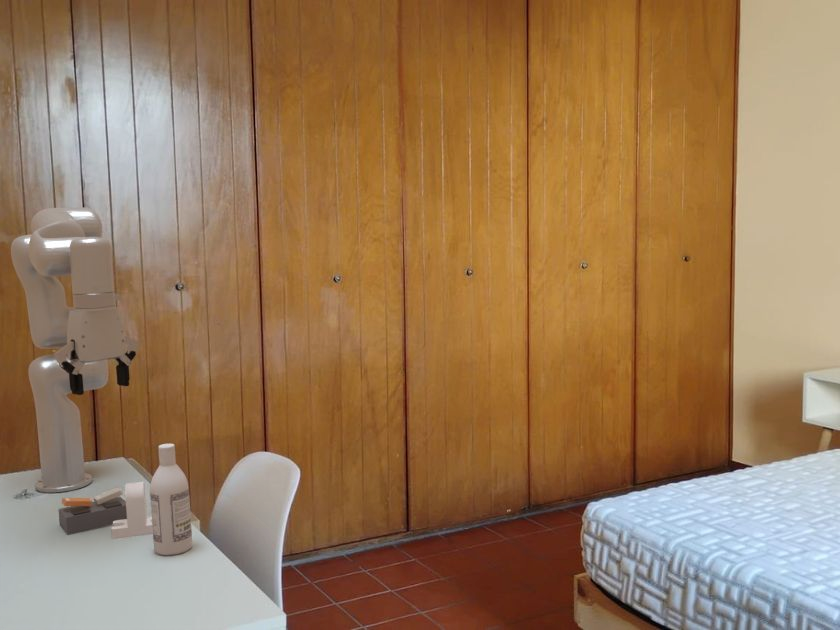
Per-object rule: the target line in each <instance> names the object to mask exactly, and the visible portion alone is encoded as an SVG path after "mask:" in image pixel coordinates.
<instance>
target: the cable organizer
mask: <svg viewBox="0 0 840 630" xmlns="http://www.w3.org/2000/svg"><path fill="white" fill-rule="evenodd" d="M124 492H125V493H124V494H125V495H124V496H125V501H126V511H127V519H124V520H116V521H113V525H112V526H111V537H112V539H113V540H114V539H115V540H118V539H123V538H133V537H139V536H147V535H153V528H152V516H148V514H147V513H148V511H147V501H146V500H147V499H146V486H145V481H140V482H139V481H137V482H126V483H125V490H124Z"/></svg>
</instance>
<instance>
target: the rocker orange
mask: <svg viewBox="0 0 840 630" xmlns="http://www.w3.org/2000/svg"><path fill="white" fill-rule="evenodd" d="M92 502H93V500H92V499H91V498H89V497H62V500H61V504H62V505H63V506H64V507H70V506H92Z"/></svg>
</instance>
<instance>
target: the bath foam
mask: <svg viewBox="0 0 840 630" xmlns="http://www.w3.org/2000/svg"><path fill="white" fill-rule="evenodd" d="M157 450H158V460H159V465H158V468H157V469H156V470H155V472H154V474H153V476H152V479H151V482H150V486H149V487H150V488H149V496H150V497H149V498H150V514H151V517H152V528H153V534H152V540H153V550H154V552H155V553H156V554H157V555H161V556H175V555H179V554H183V553H185V552H187V551H189V550H190V549H191V548H192V546H193V535H192V534H193V531H192V518H191V517H192V516H191V501H190V489H189V481H188V479H187V477H186V474H185V473H184V472H183V470H182V469H181V468H180V466H179V465H178V464H177V463H176V462H177V459H176V448H175V444H174V443H163V444H159V445H158V447H157Z"/></svg>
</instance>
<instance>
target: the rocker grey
mask: <svg viewBox="0 0 840 630" xmlns="http://www.w3.org/2000/svg"><path fill="white" fill-rule="evenodd" d="M123 494H124V493H123V491H122V489H121V488H119V486H117V487H114V488H112V489H110V490H107V491H105V492H101V493H99V494H97V495H95V496H93V500H94V501H95V502H96V503H97V504H98V505H99V504H101V503H103V502H106V501H108V500H111V499H113V498H115V497H119V496H120V497H121V496H122V495H123ZM94 501H93V502H94Z"/></svg>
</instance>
